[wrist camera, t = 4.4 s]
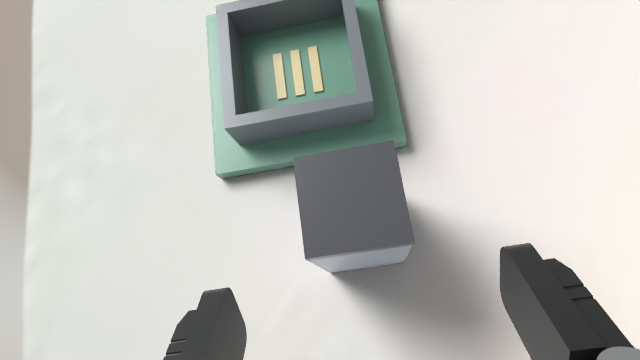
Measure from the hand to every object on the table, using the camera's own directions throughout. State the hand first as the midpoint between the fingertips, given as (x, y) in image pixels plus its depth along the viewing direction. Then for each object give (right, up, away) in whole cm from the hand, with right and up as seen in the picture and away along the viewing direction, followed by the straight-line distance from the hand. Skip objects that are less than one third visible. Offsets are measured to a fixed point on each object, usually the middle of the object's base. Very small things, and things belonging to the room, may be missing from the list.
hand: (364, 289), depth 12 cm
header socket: (-2, +9, +11) cm, 15 cm away
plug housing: (+1, +1, +8) cm, 8 cm away
